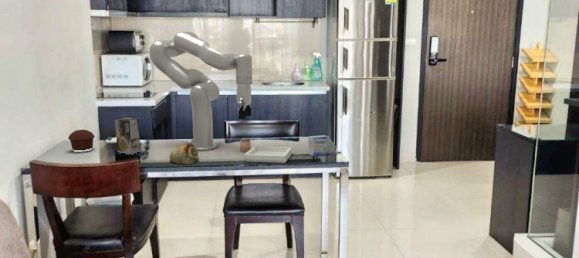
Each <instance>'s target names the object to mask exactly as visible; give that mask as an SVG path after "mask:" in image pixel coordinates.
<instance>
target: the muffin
mask: <svg viewBox="0 0 579 258" xmlns="http://www.w3.org/2000/svg"><path fill="white" fill-rule="evenodd" d="M95 137H96V136H95V134H94V133H93V132H91V131H90V130H88V129H76V130H74V131H72V132H71V133H70V134H69V135H68V138H67V139H68V141H70V146H71V149H72V150H73V149H74V150H86V149H90V148H92V149H93V148H94V146H93V145H94V139H95Z"/></svg>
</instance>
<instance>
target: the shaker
mask: <svg viewBox="0 0 579 258" xmlns="http://www.w3.org/2000/svg"><path fill="white" fill-rule="evenodd" d="M251 144H252V143H251V138H249V137H242V138H240V140H239V152H240V153H247V152H248V151H249V150H250V149H252V148H251V147H252V146H251Z"/></svg>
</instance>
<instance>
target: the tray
mask: <svg viewBox="0 0 579 258" xmlns="http://www.w3.org/2000/svg"><path fill="white" fill-rule="evenodd" d="M292 155H293V147H288V146H287V147H285V146H282V147H281V146H264V145H262V146H260V145H254V146H253V147H252V148H251V149H250V150H249V151H248V152H245V153H244V155H243V156H244V157H243V158H244V159H243V161H244V162H253V163H274V164H276V163H277V164H285V163H287V161H288V160H289V158H290V157H291V156H292Z"/></svg>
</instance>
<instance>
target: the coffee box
mask: <svg viewBox="0 0 579 258" xmlns="http://www.w3.org/2000/svg"><path fill="white" fill-rule="evenodd" d="M114 124H115V126H114V127H115V139H116V153H117V152H119V153H118V154H121V153H125V154H124V155H130V154H131V155H135V153H136V154H138V153H137V152H140V153H141V140H140V139H141V138H140V136H141V135H140V120H139V118H135V117H134V118H132V117H121V118H118V119H114Z"/></svg>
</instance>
